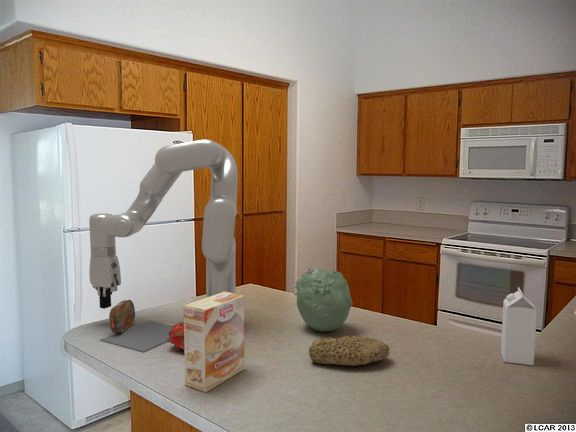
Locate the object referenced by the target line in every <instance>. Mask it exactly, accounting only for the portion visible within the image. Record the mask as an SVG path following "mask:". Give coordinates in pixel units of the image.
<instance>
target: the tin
mask: <svg viewBox="0 0 576 432" xmlns="http://www.w3.org/2000/svg"><path fill="white" fill-rule="evenodd" d="M135 309H136V308H135V305H134V303H133V300H131V299H128V300H127V299H126V300H122V301H120V302H118V303H117V304H116V305H114V306H113V307H112V308H111V309H110V311H109V316H108V317H109V318H108V319H109V325H110V330H111V331H112V333H113V334H116V333H124V332H125V331H126V330H127V329H129V328H131V327H132V326H133V325H134V322H135V318H136V310H135Z"/></svg>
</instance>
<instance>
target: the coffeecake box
mask: <svg viewBox="0 0 576 432" xmlns="http://www.w3.org/2000/svg"><path fill="white" fill-rule="evenodd" d="M244 316H245V295H243V294H239V293H236V294H235V293H229V292H222V293H219V294H216V295H213V296H210V297H207V298H206V297H205V298H202V299H199V300H195V301H193V302H190V303H187V304H183V322H184V349H183V351H184V386H187V387H189V388H190V387H191V388H193V389H196V390H198V391H201V392H204V393H208V392H209V391H210V390H213V389H214V388H215V387H217V386H219V385H220V384H222V383H224V382H226V381H227V380H228V379H230V378H232V377H233V376H236V375H237V374H239V373H240V372H241V371H244V370H245V368H246V367H245V319H244Z"/></svg>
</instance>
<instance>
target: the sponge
mask: <svg viewBox="0 0 576 432" xmlns="http://www.w3.org/2000/svg"><path fill="white" fill-rule="evenodd" d="M390 349H391V348H390V346H389V345H388V344H386V343H384V341H382V340H380V339H376V338H371V337H365V336H358V335H345V336H340V337H338V338H337V337H335V338H334V337H331V336H328V337H325V338H317V339H313V341H311V345H310V346H309V347H308V356H309V358H310V361H311V362H313V363H315V364H323V365H336V366H337V365H338V366H339V365H340V366H341V365H342V366H365V365H368V364H371V363H375V362H379V361H382V360H385V358H387V357H389V355H390Z"/></svg>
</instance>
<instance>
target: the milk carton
mask: <svg viewBox="0 0 576 432" xmlns="http://www.w3.org/2000/svg"><path fill="white" fill-rule="evenodd" d="M502 303H503V304H502V305H503V306H502V322H501V323H502V325H501V326H502V327H501V343H500V345H501V347H500V355H501V357H502V361H503V362H504V363H510V364H517V365H524V366H525V365H526V366H534V365H535V352H536V350H535V349H536V333H537V331H536V330H537V316H538V315H537V313H538V310H537V308H536V306H535V305H534V304H533V302H532V301H531V300H530V299H529V298H527V297H526V296H525V294H524V293H523V292H522V290H521V289H520V287H519V286H518V287H517V291H515V292H514V293H509V294H507V296H506V297H505V298H504V300H503V301H502Z"/></svg>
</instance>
